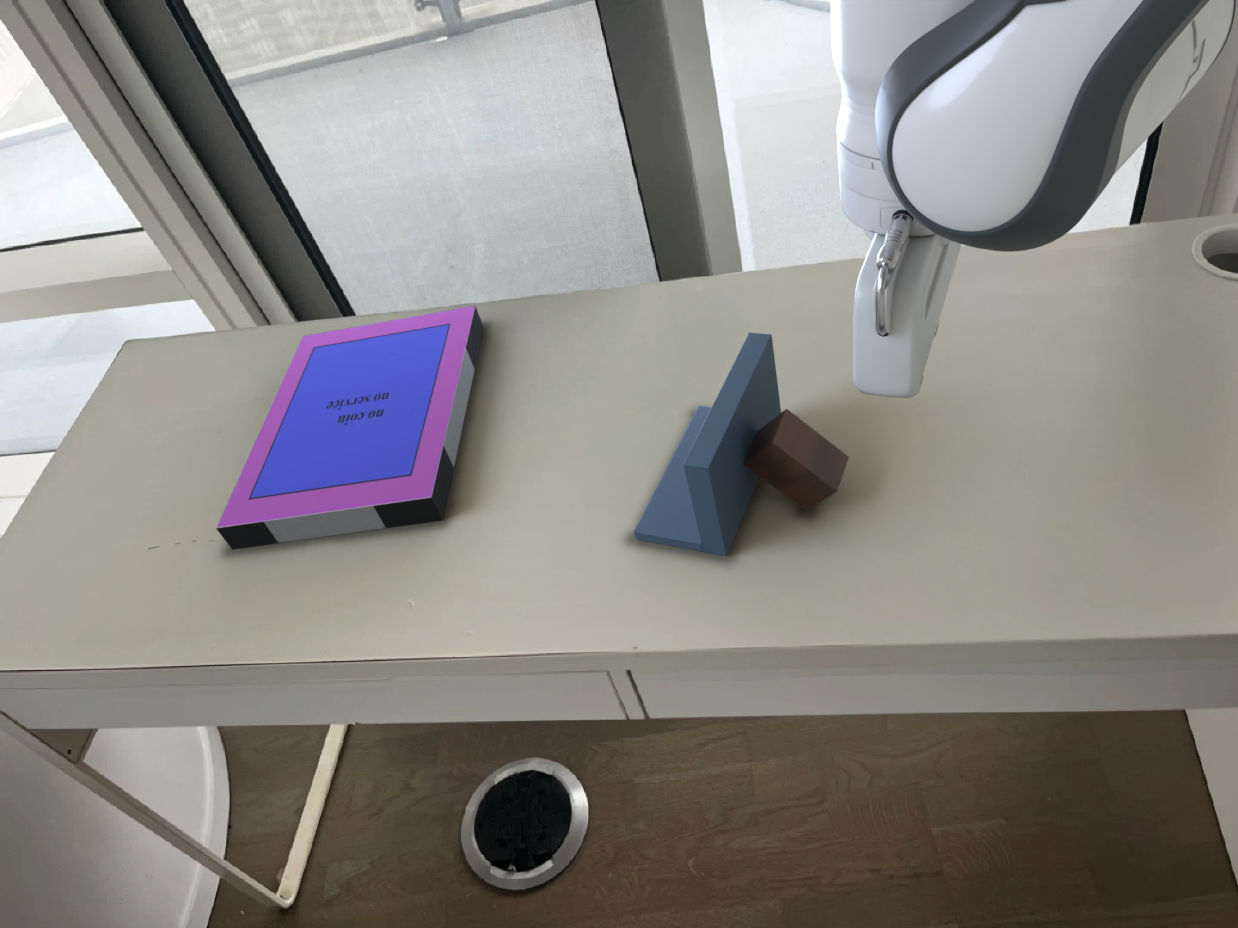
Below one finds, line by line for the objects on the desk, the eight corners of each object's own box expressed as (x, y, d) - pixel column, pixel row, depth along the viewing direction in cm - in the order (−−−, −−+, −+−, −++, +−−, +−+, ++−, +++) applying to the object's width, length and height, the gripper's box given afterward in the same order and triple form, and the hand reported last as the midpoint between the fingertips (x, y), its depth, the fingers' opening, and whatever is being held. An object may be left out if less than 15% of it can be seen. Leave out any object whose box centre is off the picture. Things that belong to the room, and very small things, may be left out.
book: (475, 305, 103) (431, 497, 81) (483, 327, 105) (442, 520, 83) (302, 335, 106) (216, 528, 84) (313, 356, 108) (232, 549, 86)
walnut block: (851, 480, 76) (845, 413, 71) (839, 516, 73) (832, 449, 68) (765, 470, 79) (753, 405, 74) (751, 503, 77) (737, 438, 72)
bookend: (782, 422, 83) (771, 333, 76) (726, 556, 73) (708, 468, 66) (700, 413, 86) (682, 326, 79) (635, 539, 76) (609, 453, 70)
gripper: (943, 276, 45) (937, 472, 55) (999, 91, 58) (986, 277, 67) (817, 270, 48) (831, 458, 57) (897, 95, 60) (898, 273, 70)
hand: (916, 359), depth 62 cm, fingers open, 5 cm apart
